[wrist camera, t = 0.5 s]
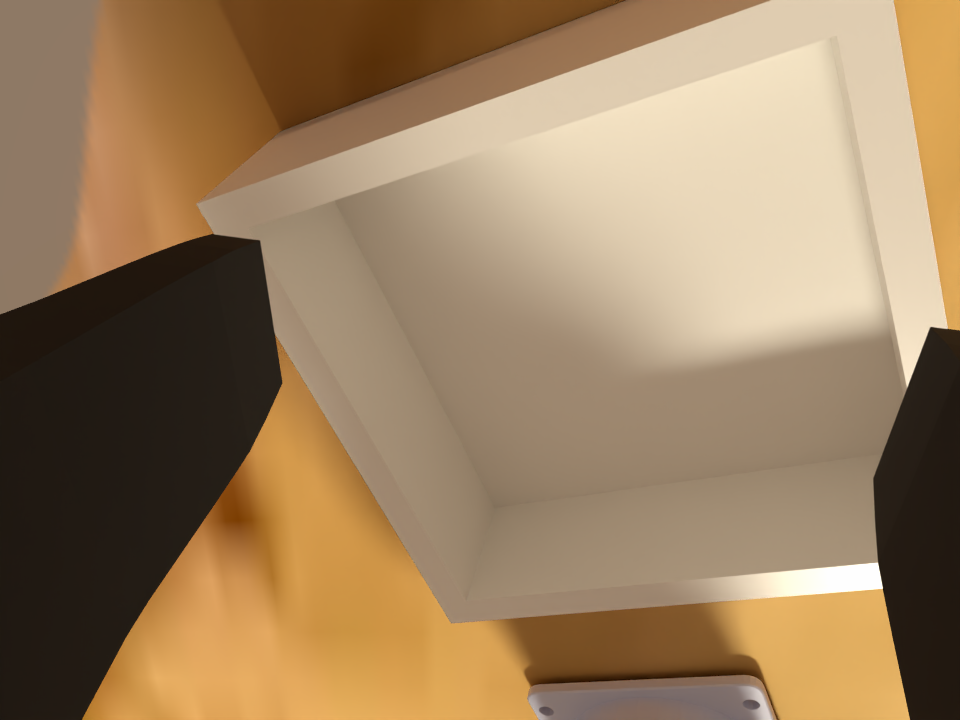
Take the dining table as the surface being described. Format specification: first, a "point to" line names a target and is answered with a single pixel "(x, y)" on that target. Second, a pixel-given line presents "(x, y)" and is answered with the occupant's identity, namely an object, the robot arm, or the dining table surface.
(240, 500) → the dining table surface
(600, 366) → the bin
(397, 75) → the dining table surface
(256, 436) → the robot arm
